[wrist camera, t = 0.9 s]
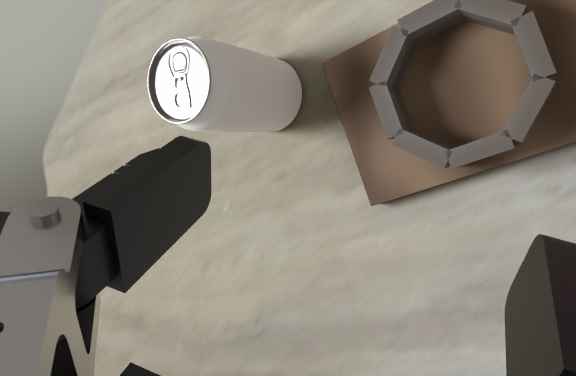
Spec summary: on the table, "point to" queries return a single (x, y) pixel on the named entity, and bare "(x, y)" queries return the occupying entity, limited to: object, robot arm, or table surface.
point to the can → (222, 87)
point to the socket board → (457, 91)
